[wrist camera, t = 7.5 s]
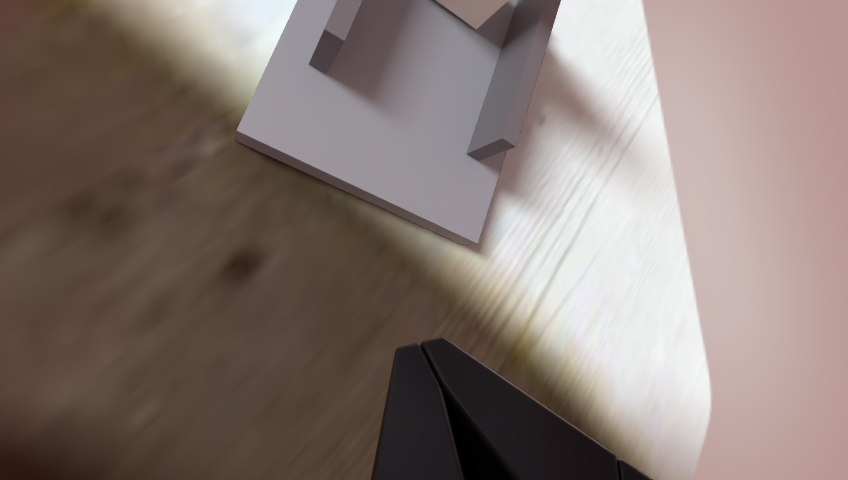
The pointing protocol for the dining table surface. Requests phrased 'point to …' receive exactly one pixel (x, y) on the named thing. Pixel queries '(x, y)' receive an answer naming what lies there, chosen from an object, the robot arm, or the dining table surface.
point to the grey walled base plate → (401, 102)
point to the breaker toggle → (473, 9)
